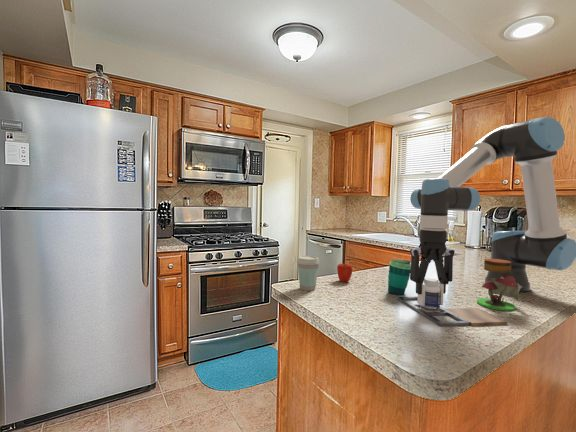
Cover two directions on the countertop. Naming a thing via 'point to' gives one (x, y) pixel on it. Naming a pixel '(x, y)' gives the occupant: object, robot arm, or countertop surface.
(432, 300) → the pill bottle
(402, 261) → the cup
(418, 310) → the gray rectangular frame
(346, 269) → the red bell pepper
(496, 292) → the mushroom toy
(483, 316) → the coaster
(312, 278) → the coffee cup
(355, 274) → the countertop surface
